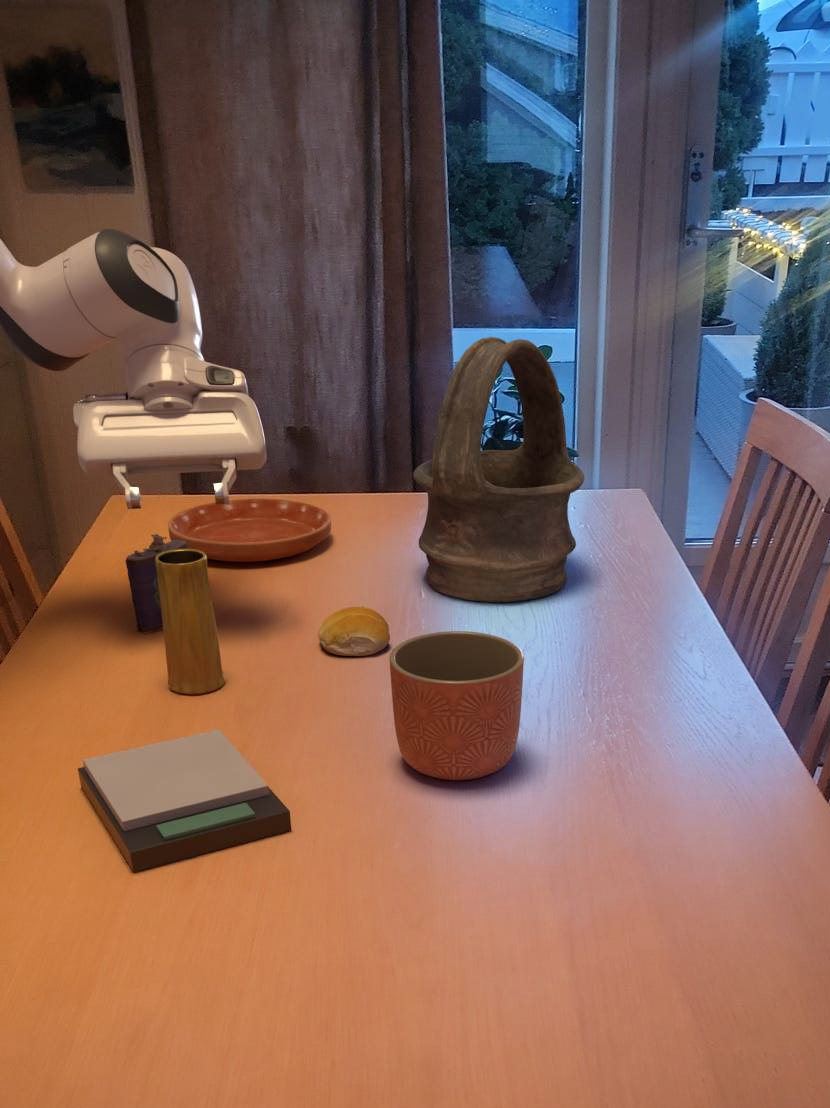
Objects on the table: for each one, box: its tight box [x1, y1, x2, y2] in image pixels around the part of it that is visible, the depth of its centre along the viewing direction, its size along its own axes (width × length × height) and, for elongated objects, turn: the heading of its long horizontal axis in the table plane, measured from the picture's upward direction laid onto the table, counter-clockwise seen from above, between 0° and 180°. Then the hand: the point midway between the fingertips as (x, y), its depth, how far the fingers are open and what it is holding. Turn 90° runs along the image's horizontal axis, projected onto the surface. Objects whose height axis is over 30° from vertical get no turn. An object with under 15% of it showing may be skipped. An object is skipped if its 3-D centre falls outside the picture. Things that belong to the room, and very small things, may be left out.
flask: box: [125, 533, 188, 634], centre depth 147 cm, size 9×3×11 cm, turn 147°
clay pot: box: [413, 336, 586, 603], centre depth 156 cm, size 22×23×30 cm
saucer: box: [167, 498, 332, 563], centre depth 175 cm, size 23×23×4 cm
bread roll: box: [317, 606, 391, 657], centre depth 143 cm, size 8×9×4 cm
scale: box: [77, 729, 292, 873], centre depth 110 cm, size 14×17×3 cm
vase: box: [155, 549, 226, 696], centre depth 130 cm, size 6×6×14 cm
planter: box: [388, 630, 525, 781], centre depth 116 cm, size 12×12×11 cm
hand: (178, 504), depth 134 cm, fingers open, 8 cm apart
